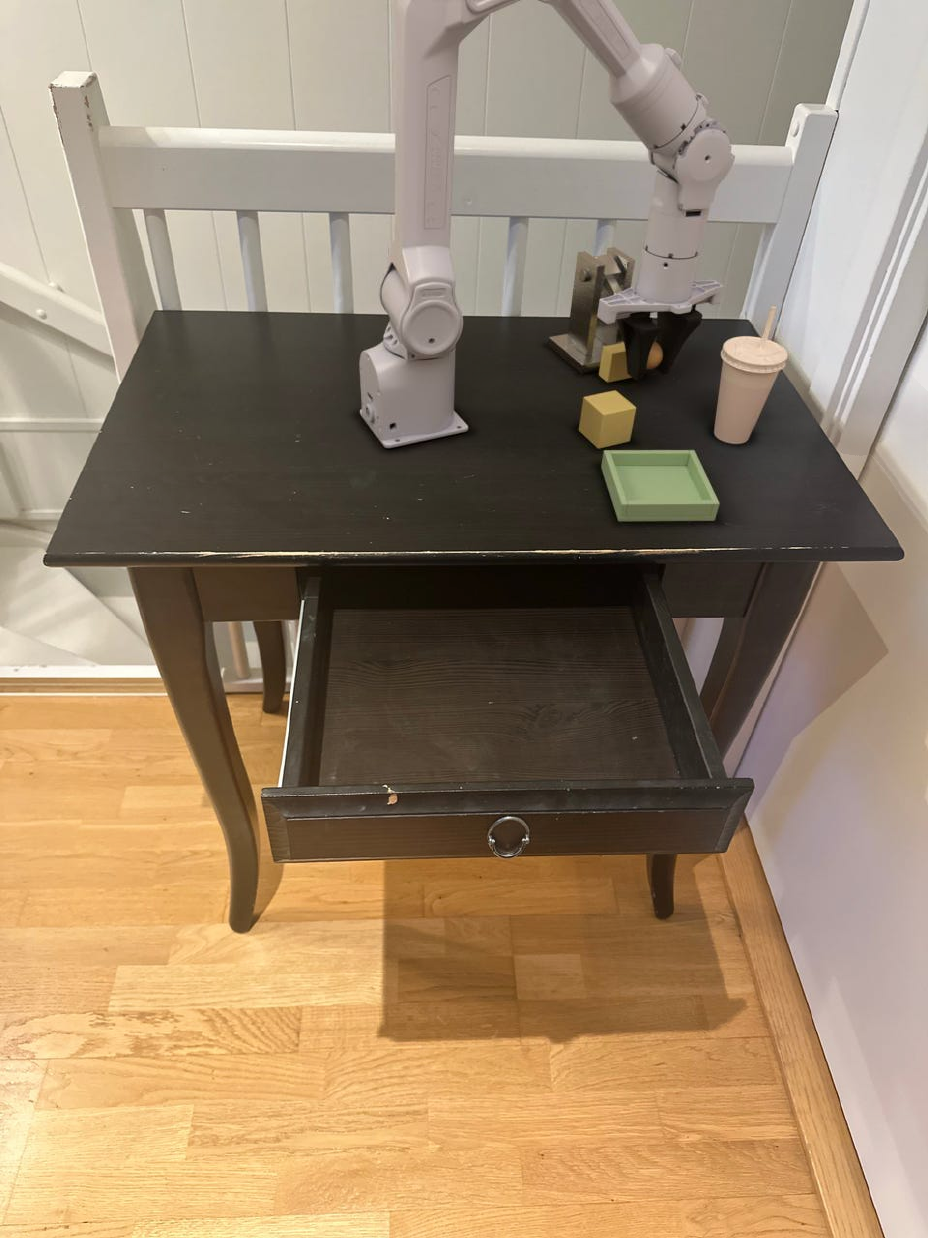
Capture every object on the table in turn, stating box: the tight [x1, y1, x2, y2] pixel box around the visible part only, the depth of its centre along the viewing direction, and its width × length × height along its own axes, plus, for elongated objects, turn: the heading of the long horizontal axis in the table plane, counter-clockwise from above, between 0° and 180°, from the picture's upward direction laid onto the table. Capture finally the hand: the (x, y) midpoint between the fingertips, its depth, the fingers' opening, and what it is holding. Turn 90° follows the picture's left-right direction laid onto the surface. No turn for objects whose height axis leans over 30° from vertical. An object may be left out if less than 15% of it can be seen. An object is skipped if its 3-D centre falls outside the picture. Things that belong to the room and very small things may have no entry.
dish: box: [600, 449, 721, 522], centre depth 81 cm, size 9×9×2 cm
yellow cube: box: [578, 390, 637, 450], centre depth 88 cm, size 4×4×4 cm
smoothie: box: [713, 305, 789, 445], centre depth 85 cm, size 6×6×14 cm
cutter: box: [547, 246, 636, 375], centre depth 99 cm, size 8×8×12 cm
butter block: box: [598, 343, 633, 384], centre depth 98 cm, size 2×4×4 cm, turn 115°
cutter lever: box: [593, 253, 663, 370], centre depth 95 cm, size 15×3×3 cm, turn 25°
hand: (647, 373), depth 94 cm, fingers closed on cutter lever, 3 cm apart
